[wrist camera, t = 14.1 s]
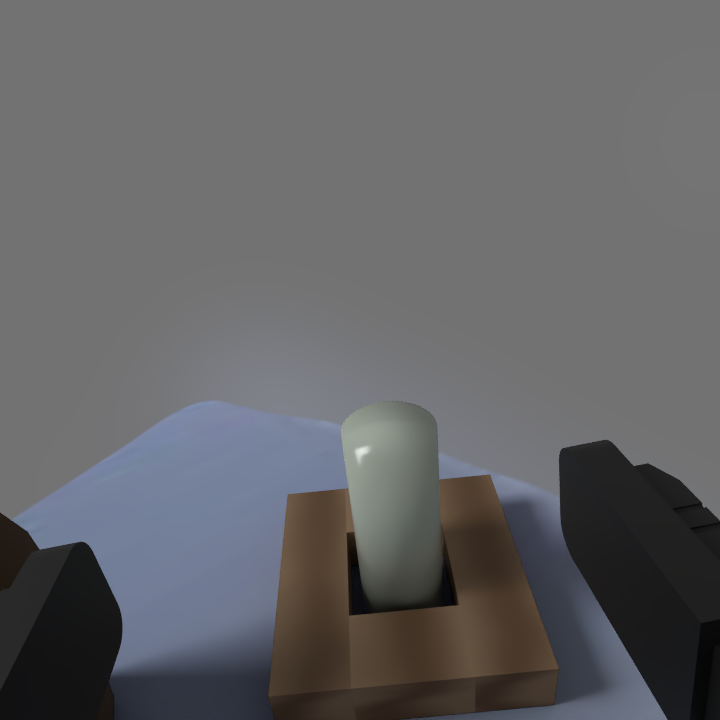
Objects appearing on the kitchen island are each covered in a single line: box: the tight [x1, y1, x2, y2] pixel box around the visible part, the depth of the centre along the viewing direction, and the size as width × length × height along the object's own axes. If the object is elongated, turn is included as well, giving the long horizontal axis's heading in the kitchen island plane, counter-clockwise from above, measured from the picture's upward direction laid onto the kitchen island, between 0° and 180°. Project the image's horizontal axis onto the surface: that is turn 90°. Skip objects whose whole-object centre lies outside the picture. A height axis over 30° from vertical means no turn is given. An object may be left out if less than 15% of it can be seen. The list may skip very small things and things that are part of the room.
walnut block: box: [268, 475, 559, 720], centre depth 35 cm, size 14×14×3 cm
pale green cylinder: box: [341, 401, 444, 614], centre depth 32 cm, size 5×5×13 cm
